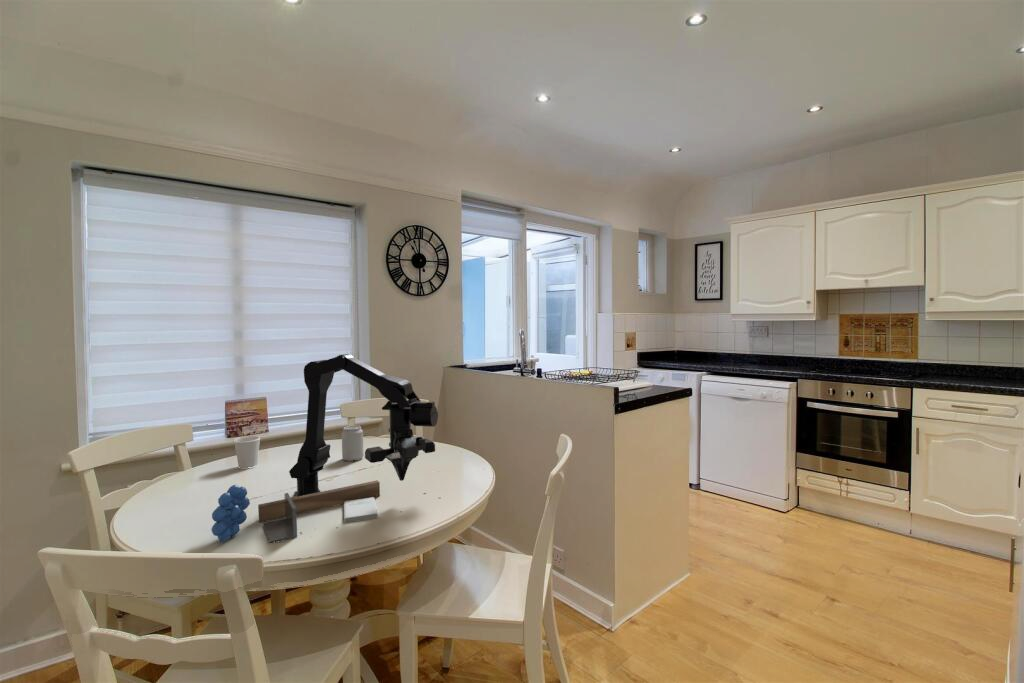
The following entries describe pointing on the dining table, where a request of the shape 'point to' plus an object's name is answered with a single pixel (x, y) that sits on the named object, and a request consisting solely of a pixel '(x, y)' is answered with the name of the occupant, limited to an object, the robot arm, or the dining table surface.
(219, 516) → the grapes
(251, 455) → the dixie cup
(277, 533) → the bookend
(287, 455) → the dining table surface
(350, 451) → the can
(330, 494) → the rail
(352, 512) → the external hard drive
